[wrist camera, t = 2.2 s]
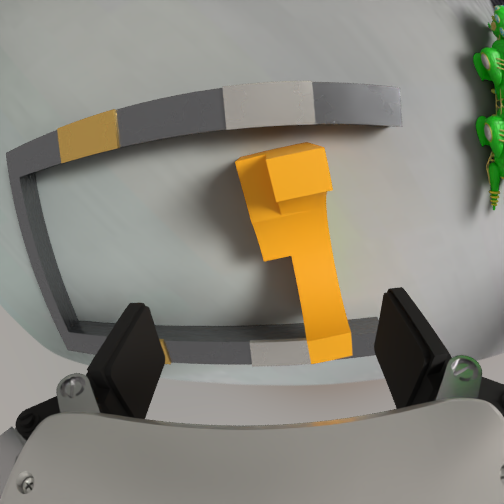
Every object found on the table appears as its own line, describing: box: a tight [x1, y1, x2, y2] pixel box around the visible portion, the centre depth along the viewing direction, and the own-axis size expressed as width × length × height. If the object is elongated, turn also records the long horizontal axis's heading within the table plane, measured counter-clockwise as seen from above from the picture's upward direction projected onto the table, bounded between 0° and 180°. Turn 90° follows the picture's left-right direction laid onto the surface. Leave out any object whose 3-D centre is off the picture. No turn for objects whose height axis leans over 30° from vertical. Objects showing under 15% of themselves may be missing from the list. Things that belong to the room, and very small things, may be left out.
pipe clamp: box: [235, 142, 352, 364], centre depth 17 cm, size 12×4×6 cm, turn 14°
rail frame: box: [6, 81, 402, 366], centre depth 20 cm, size 30×20×2 cm
